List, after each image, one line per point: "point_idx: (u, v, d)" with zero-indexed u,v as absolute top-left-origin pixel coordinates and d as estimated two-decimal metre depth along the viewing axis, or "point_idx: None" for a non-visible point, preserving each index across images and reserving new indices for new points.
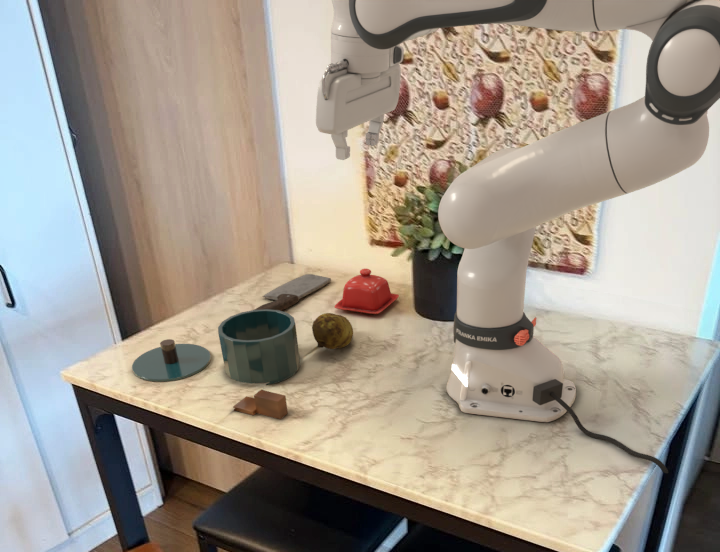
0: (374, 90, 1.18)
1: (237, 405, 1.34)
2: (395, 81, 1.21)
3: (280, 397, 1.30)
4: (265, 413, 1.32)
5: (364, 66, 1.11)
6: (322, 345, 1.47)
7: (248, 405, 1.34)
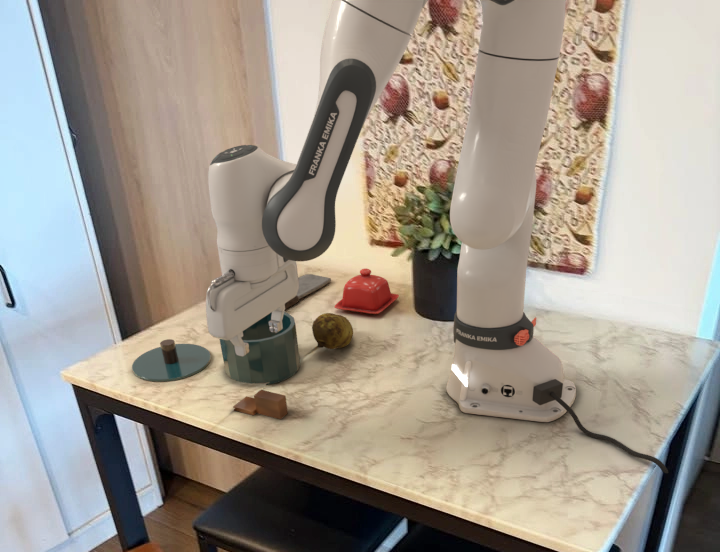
0: (268, 287, 1.20)
1: (237, 405, 1.34)
2: (291, 273, 1.24)
3: (280, 397, 1.30)
4: (265, 413, 1.32)
5: (250, 274, 1.13)
6: (322, 345, 1.47)
7: (248, 405, 1.34)
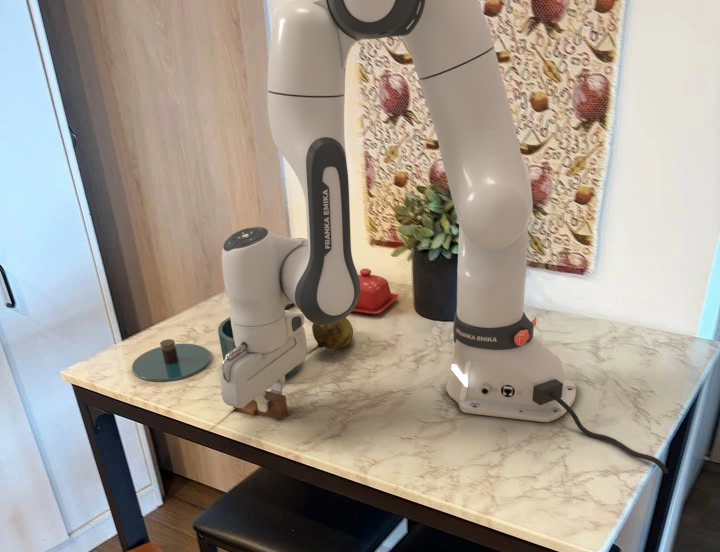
0: (278, 355, 1.27)
1: None
2: (300, 339, 1.31)
3: (280, 397, 1.30)
4: (265, 413, 1.32)
5: (261, 347, 1.20)
6: (322, 345, 1.47)
7: (248, 405, 1.34)
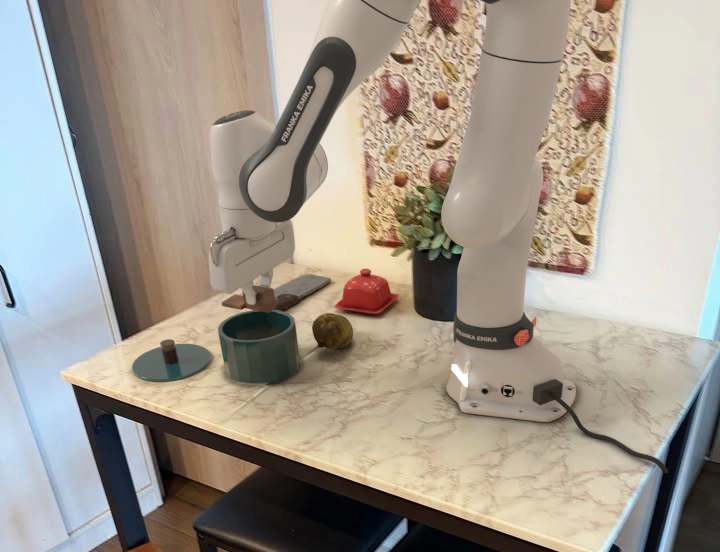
0: (266, 246, 1.28)
1: (226, 301, 1.35)
2: (288, 233, 1.32)
3: (268, 290, 1.31)
4: (253, 307, 1.33)
5: (249, 232, 1.22)
6: (322, 345, 1.47)
7: (236, 301, 1.35)
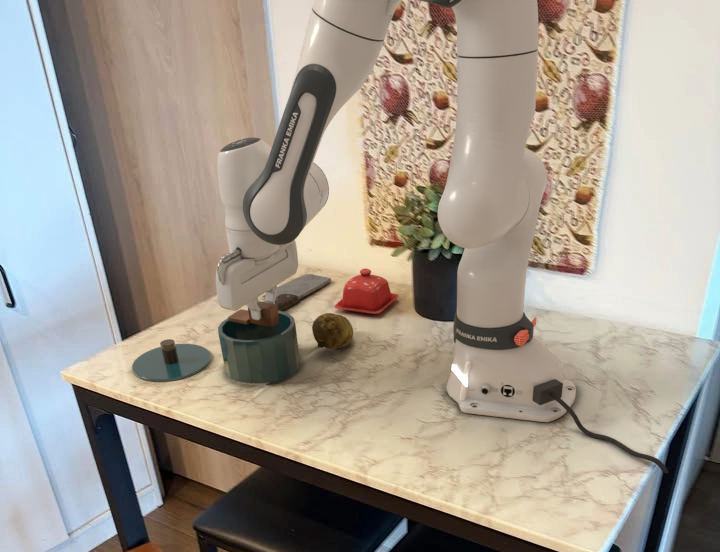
0: (271, 264, 1.35)
1: (232, 315, 1.42)
2: (292, 252, 1.38)
3: (272, 306, 1.37)
4: (258, 322, 1.39)
5: (255, 252, 1.28)
6: (322, 345, 1.47)
7: (242, 316, 1.41)
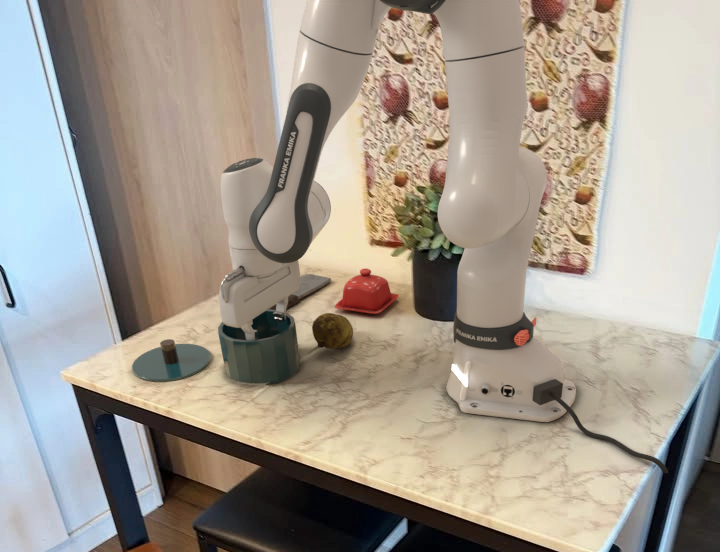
0: (273, 282, 1.37)
1: None
2: (294, 269, 1.40)
3: None
4: None
5: (257, 270, 1.30)
6: (322, 345, 1.47)
7: None
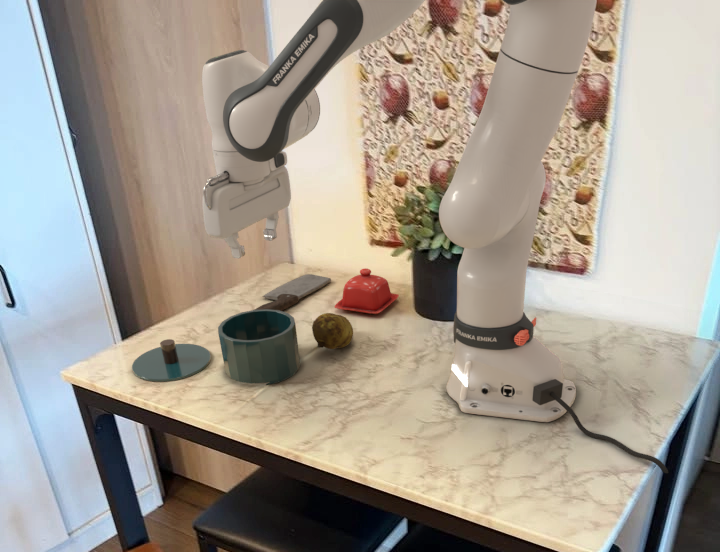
0: (261, 193, 1.27)
1: None
2: (284, 181, 1.31)
3: None
4: None
5: (243, 175, 1.21)
6: (322, 345, 1.47)
7: None
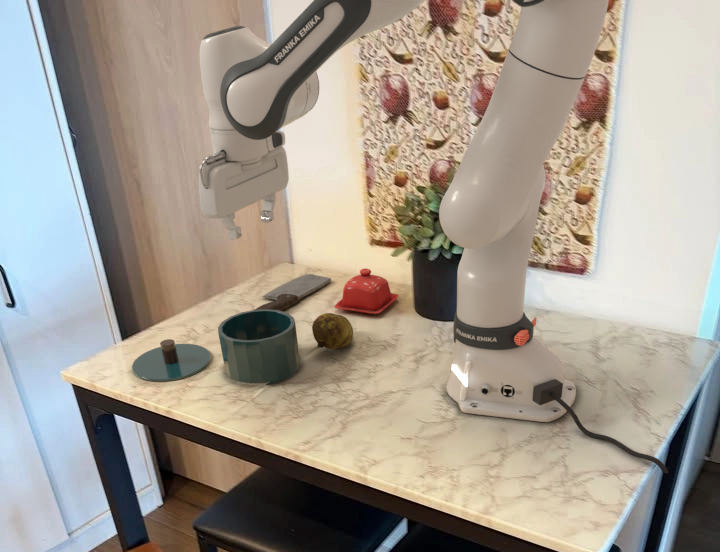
0: (259, 173, 1.26)
1: None
2: (281, 162, 1.29)
3: None
4: None
5: (241, 154, 1.19)
6: (322, 345, 1.47)
7: None
